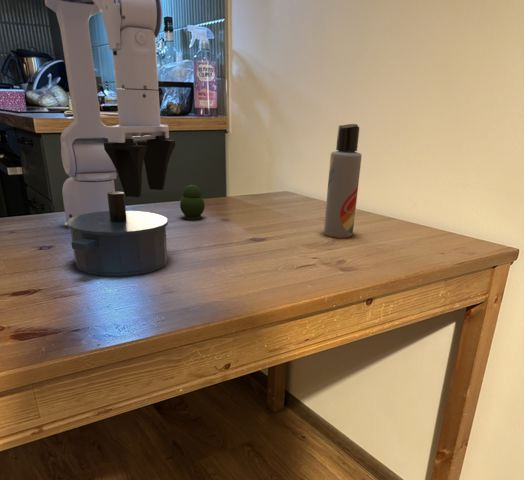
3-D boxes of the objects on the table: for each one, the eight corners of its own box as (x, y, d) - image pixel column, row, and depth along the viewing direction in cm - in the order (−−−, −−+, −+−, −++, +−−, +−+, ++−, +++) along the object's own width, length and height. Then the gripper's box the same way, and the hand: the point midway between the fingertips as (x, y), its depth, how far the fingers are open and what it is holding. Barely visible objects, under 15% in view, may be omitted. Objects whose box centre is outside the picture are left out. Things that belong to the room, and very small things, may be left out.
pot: (43, 273, 71) (36, 232, 69) (120, 243, 87) (116, 208, 85) (125, 287, 67) (121, 243, 65) (189, 252, 84) (188, 216, 81)
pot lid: (45, 232, 71) (39, 195, 69) (107, 214, 83) (103, 182, 81) (134, 244, 67) (130, 205, 64) (185, 223, 79) (183, 190, 77)
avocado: (176, 219, 106) (174, 185, 103) (187, 214, 111) (186, 182, 108) (198, 221, 105) (197, 187, 102) (208, 217, 109) (208, 184, 106)
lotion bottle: (358, 236, 98) (371, 125, 89) (337, 239, 95) (348, 124, 86) (338, 230, 102) (349, 123, 93) (317, 233, 99) (326, 123, 90)
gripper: (138, 88, 61) (147, 202, 67) (185, 92, 74) (189, 188, 80) (88, 87, 63) (100, 198, 69) (142, 91, 75) (148, 185, 81)
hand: (145, 192), depth 74 cm, fingers open, 7 cm apart
